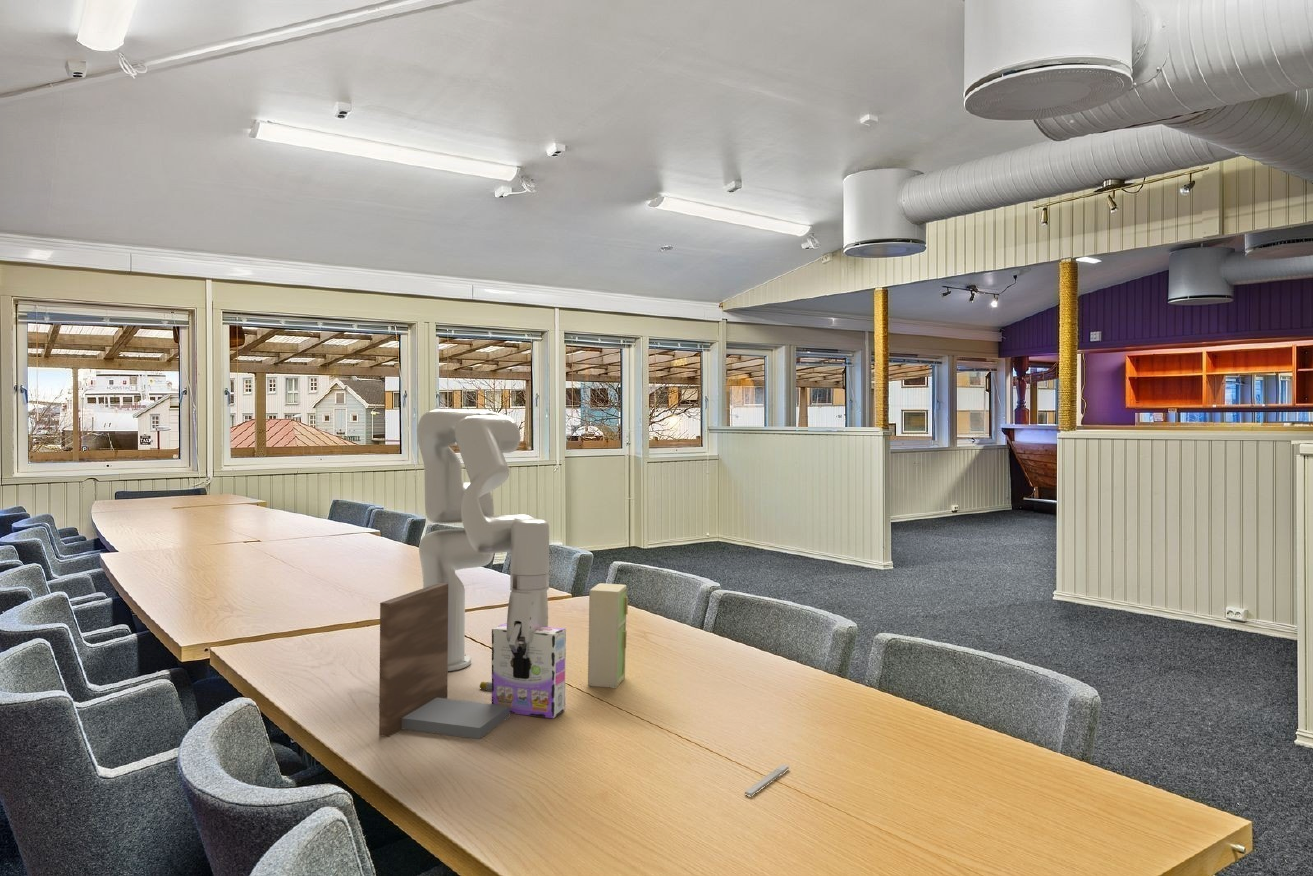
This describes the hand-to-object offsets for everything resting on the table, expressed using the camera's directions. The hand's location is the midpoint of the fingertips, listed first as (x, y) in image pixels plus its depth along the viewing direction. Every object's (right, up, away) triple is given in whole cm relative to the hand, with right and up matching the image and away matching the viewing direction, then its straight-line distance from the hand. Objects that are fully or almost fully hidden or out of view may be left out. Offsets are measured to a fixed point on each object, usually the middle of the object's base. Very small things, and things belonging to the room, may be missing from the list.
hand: (528, 672), depth 159 cm
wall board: (-21, -7, -4) cm, 23 cm away
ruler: (+43, -9, -31) cm, 54 cm away
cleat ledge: (-12, -8, -7) cm, 16 cm away
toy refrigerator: (+15, -8, +19) cm, 25 cm away
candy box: (0, -8, 0) cm, 8 cm away
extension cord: (-4, -8, +13) cm, 16 cm away
